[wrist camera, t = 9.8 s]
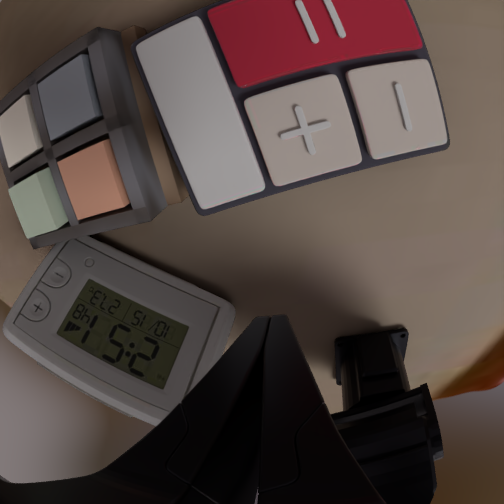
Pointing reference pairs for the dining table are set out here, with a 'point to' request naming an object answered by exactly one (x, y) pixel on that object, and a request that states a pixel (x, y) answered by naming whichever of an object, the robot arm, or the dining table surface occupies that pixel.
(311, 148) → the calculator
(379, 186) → the dining table surface
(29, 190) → the key sage
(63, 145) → the keypad
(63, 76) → the key slate
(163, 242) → the dining table surface
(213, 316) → the digital clock
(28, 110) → the key cream
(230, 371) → the robot arm
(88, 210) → the key terracotta
